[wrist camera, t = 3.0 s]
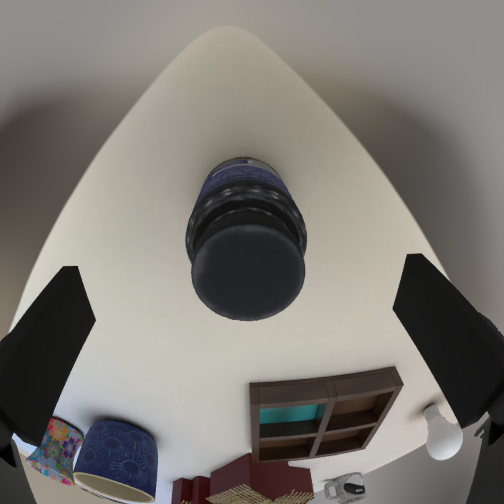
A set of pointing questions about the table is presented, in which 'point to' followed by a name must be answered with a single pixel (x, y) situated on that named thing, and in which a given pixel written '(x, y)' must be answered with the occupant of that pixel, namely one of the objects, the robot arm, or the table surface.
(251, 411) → the wooden box
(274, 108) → the table surface
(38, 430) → the robot arm
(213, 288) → the pill bottle
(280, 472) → the toy houses
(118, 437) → the planter
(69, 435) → the floral vase
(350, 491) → the mug
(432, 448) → the lightbulb
